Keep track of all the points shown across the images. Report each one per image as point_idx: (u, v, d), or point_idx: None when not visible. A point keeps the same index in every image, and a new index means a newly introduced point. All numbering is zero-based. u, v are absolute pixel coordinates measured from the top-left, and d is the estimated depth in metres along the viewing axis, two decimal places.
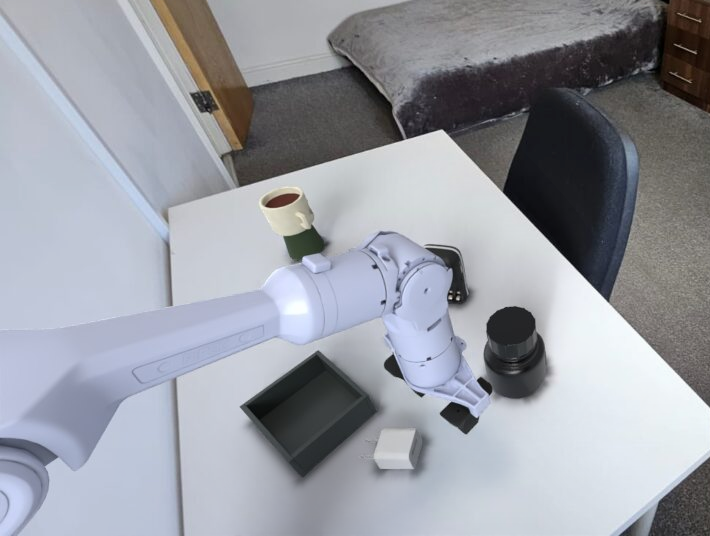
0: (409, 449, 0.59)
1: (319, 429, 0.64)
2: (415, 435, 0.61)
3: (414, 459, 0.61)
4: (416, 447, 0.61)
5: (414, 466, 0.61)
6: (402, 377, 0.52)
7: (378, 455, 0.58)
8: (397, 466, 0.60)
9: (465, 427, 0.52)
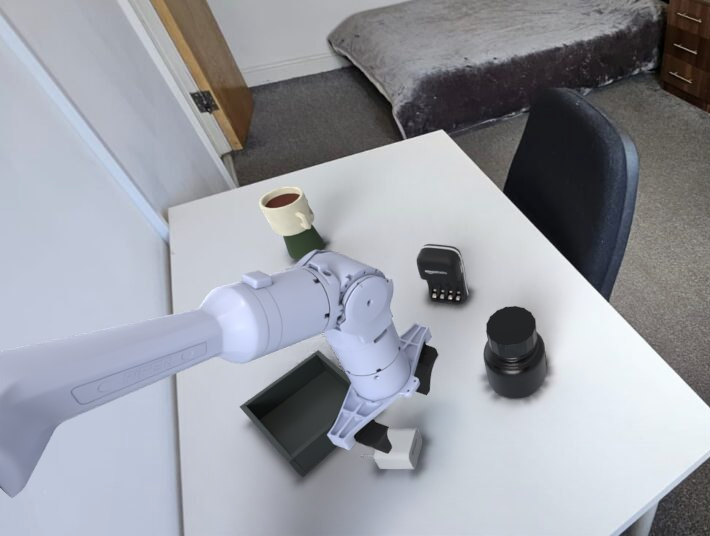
0: (409, 449, 0.59)
1: (319, 429, 0.64)
2: (415, 435, 0.61)
3: (414, 459, 0.61)
4: (416, 447, 0.61)
5: (414, 466, 0.61)
6: None
7: (378, 455, 0.58)
8: (397, 466, 0.60)
9: None
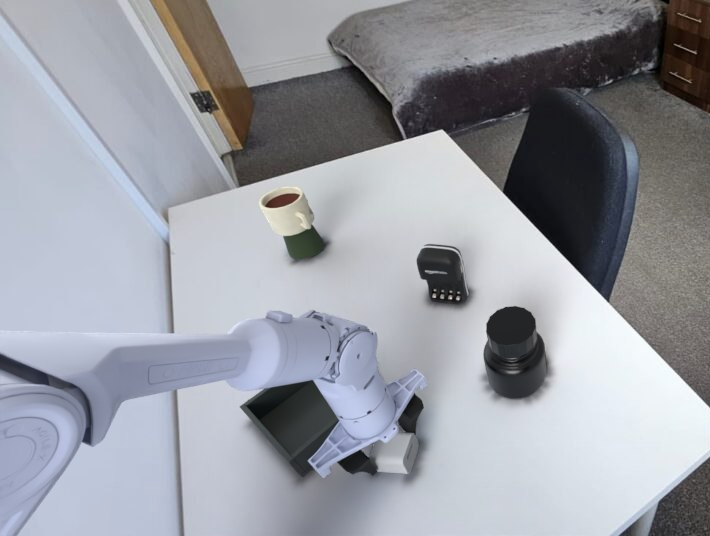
0: (404, 454, 0.58)
1: (319, 429, 0.64)
2: (411, 440, 0.60)
3: (409, 463, 0.60)
4: (412, 452, 0.61)
5: (409, 471, 0.60)
6: None
7: (373, 458, 0.58)
8: (391, 470, 0.59)
9: None
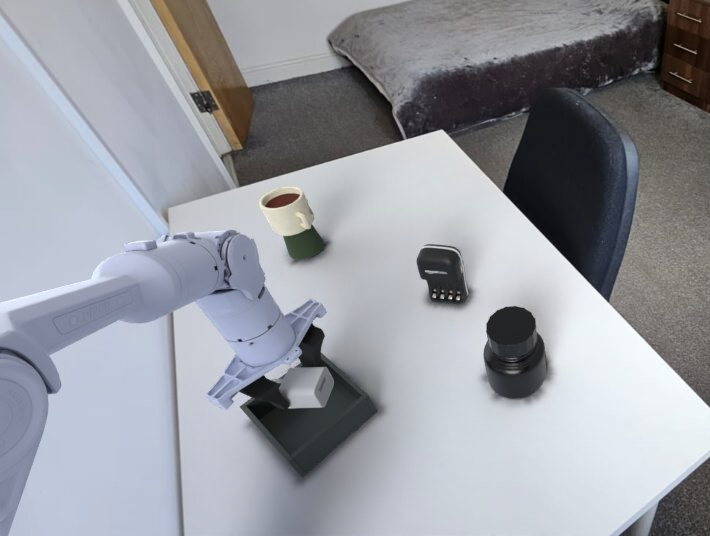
0: (315, 385, 0.58)
1: (319, 429, 0.64)
2: (323, 373, 0.60)
3: (322, 397, 0.60)
4: (325, 386, 0.60)
5: (323, 404, 0.60)
6: None
7: (282, 392, 0.57)
8: (304, 404, 0.59)
9: None
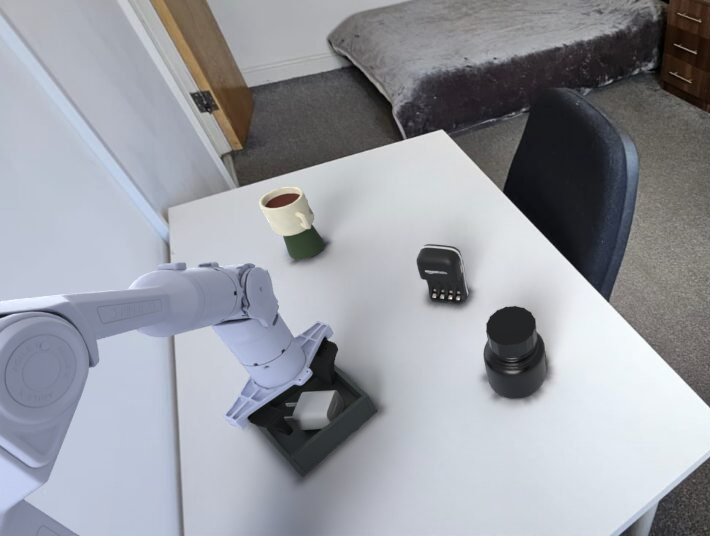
0: (327, 408, 0.62)
1: (319, 429, 0.64)
2: (334, 396, 0.64)
3: (334, 418, 0.64)
4: (336, 408, 0.65)
5: None
6: None
7: (297, 415, 0.62)
8: (317, 426, 0.63)
9: None
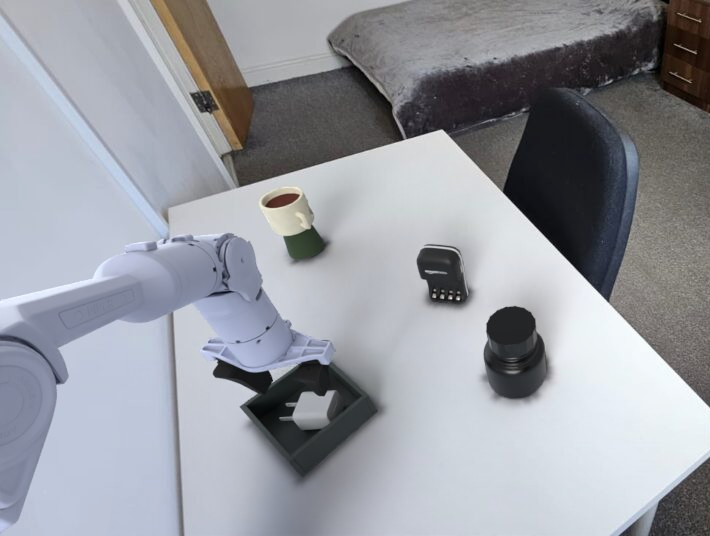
0: (327, 408, 0.62)
1: (319, 429, 0.64)
2: (334, 396, 0.64)
3: (334, 418, 0.64)
4: (336, 408, 0.65)
5: None
6: (238, 377, 0.56)
7: (297, 415, 0.62)
8: (317, 426, 0.63)
9: (321, 388, 0.59)
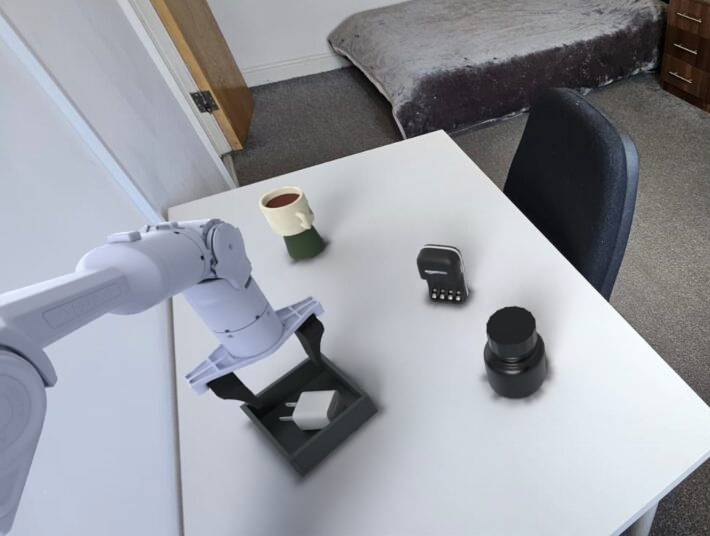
0: (327, 408, 0.62)
1: (319, 429, 0.64)
2: (334, 396, 0.64)
3: (334, 418, 0.64)
4: (336, 408, 0.65)
5: None
6: (245, 386, 0.53)
7: (297, 415, 0.62)
8: (317, 426, 0.63)
9: None
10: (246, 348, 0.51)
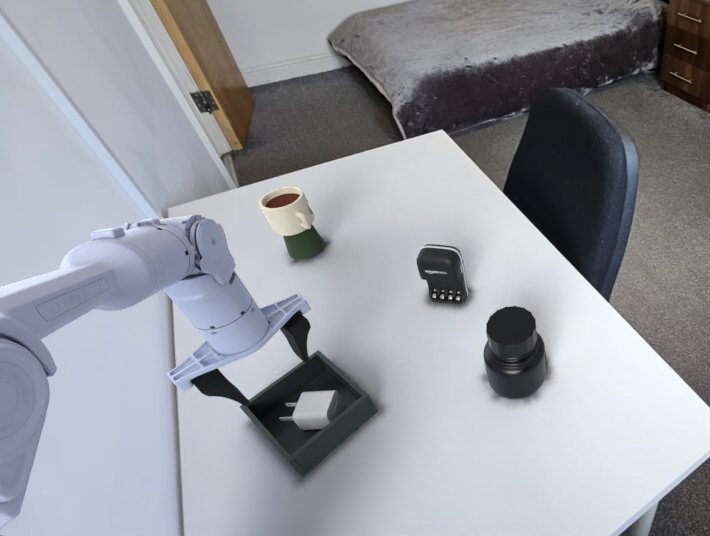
0: (327, 408, 0.62)
1: (319, 429, 0.64)
2: (334, 396, 0.64)
3: (334, 418, 0.64)
4: (336, 408, 0.65)
5: None
6: (230, 383, 0.53)
7: (297, 415, 0.62)
8: (317, 426, 0.63)
9: None
10: (230, 345, 0.51)
